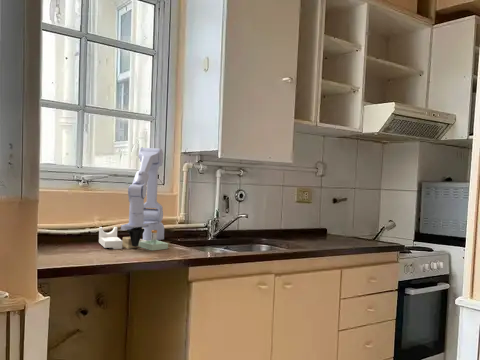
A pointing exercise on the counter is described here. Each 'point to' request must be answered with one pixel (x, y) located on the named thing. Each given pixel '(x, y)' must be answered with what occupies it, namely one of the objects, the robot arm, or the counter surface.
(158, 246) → the tray
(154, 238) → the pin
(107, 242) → the bracket
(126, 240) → the chock
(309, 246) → the counter surface
